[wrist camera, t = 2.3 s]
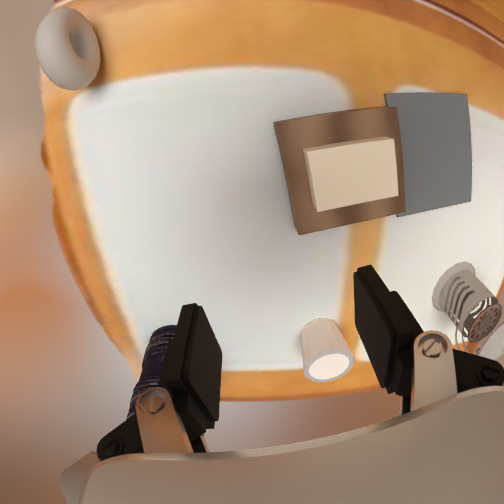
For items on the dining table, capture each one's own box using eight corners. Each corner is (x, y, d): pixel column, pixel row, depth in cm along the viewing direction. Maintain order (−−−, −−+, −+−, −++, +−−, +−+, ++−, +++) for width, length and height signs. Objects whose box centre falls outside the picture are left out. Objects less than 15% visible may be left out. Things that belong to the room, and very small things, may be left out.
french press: (482, 261, 37) (572, 360, 15) (458, 316, 42) (525, 418, 20) (444, 261, 36) (544, 382, 14) (420, 321, 42) (487, 442, 20)
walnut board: (386, 106, 27) (396, 107, 24) (396, 204, 32) (405, 212, 30) (273, 122, 28) (276, 123, 25) (295, 226, 33) (298, 235, 31)
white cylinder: (319, 353, 43) (328, 387, 37) (287, 337, 41) (293, 374, 35) (350, 326, 41) (364, 360, 35) (319, 307, 39) (330, 343, 33)
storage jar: (221, 363, 44) (216, 446, 30) (167, 371, 45) (151, 447, 31) (196, 318, 39) (181, 409, 26) (138, 330, 40) (109, 411, 27)
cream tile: (384, 136, 26) (393, 138, 24) (390, 190, 29) (398, 195, 27) (302, 148, 27) (307, 151, 25) (313, 205, 29) (317, 212, 28)
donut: (113, 83, 25) (64, 78, 16) (88, 95, 25) (35, 98, 16) (98, 13, 20) (52, -9, 11) (74, 27, 20) (23, 12, 11)
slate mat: (464, 94, 25) (466, 94, 24) (469, 200, 32) (470, 201, 31) (384, 93, 26) (385, 93, 26) (396, 216, 33) (398, 217, 32)
